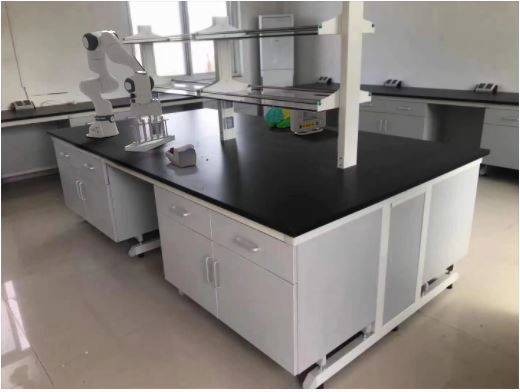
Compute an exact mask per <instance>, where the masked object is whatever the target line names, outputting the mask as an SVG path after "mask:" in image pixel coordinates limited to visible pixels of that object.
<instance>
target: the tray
mask: <svg viewBox="0 0 520 392" xmlns="http://www.w3.org/2000/svg"><path fill="white" fill-rule="evenodd" d="M170 135H171V137H167V138H163V139H159V140H154V141H150V142H146V143H142V144H138V145H136V144H133V143H131V144H129V145H126V146H125V145H124V151H126V152H144V153H145V152H148V151H150V150H153V149H155V148H157V147H160V146H161V145H164V144H166V143H168V142H171V141H173V140H175V139H176V134H170ZM159 136H163V134H160V133H159ZM154 137H157V135H156V134H153V138H154ZM150 138H151V137H150V136H149V137H148V136H147V139H150ZM142 140H145V139H144V138H143V139H142Z"/></svg>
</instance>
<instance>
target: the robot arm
mask: <svg viewBox="0 0 520 392" xmlns="http://www.w3.org/2000/svg"><path fill="white" fill-rule="evenodd" d="M82 45H83V46H84V48H85V49H86V55H87V56H86V57H87V64H88V65H87V66H88V69H89V70H90V71H91V72H92V73H94V74H97V75H98V76H97V77H88V78H85V79H82V80H80V82H79V91H80V92H81V93H82V94H83V95H85V97H87V98H88V99H90V101H91V102H92V104H93V106H94V110H95V114H96V115H95V116H94V115H93V118H94V119H95V120H94V121H93V122H92V124H91V125H90V126H89V128H88V130H89V131H88V132H89V133H86V137H91V138H100V139H101V138H105V137H111V136H116V135H119V134H120V132H119V131H118V127H117V124H116V121H115V119H116V118H115V113H114V111H113V105H112V102H111V101H110V100H108V99H107V98H103V97H102V95H104V94H112V93H115V92H118V91H119V88H120V82H119V80H118V79H117V77H115V76H114V75H113V74H111V72H110V71H109V70H108V65H107V61H106V60H107V59H106V57H108V59H109V60H110V61H111V62H112V63H114V64H117V65H123V66H126V67H129V68H130V69H132V71H133V74H132V75H130V76H129V77H126V78H125V80H124V83H123V86H124V89H125V91H126V92H127V93H129V94H136V96H135V97H133V98H131V99H130V100H129V102H130V114H131V115H132V116H136V117H137V119H138V120H139V121H138V122H139V124H140V123H142V120H144V119H143V118H142V116H153V119H152V121H153V123H152V124H155V123H156V119H157V120H158V116H161V115H162V114H163V107H162V105H161V100H159V99H153V94H152V90H153V89H154V87H155V81H154V78H153V77H152V76H151V75H150V74H149V73H148V72H147V71H146V70H145V68H144V66H142V65H141V63H140V61H138V59H137V58H136V57H135V56H134V55H133V54H132V53H130V52H129V51H128V50H127V49H126V48H125V47H124V45H123V43H122V42H121V41H120V38H119V35H118V34H117V32H116V31H114V30H109V29H107V30H98V31H93V32H86V33H84V34H83V36H82ZM162 116H163V115H162Z"/></svg>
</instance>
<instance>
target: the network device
mask: <svg viewBox="0 0 520 392" xmlns="http://www.w3.org/2000/svg"><path fill="white" fill-rule="evenodd" d="M290 123H291V126H290V131H292V132H294V134H295V135H300V136H301V135H308V134H314V133H318V132H322V131H324V129H323V128H325V127H326V126H327V125H326V124H327V110H326V111H324V112H319V113H312V112H304V111H296V110H290Z"/></svg>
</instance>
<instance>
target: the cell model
mask: <svg viewBox="0 0 520 392" xmlns="http://www.w3.org/2000/svg"><path fill="white" fill-rule="evenodd" d="M164 153H165V157H166V158H167V159H168V161H169V162H170V163H171V164H172V165H175V166H177V167H179V168H185V167H191V166H196V165H197V152H196V149H195V145H194V144H192V143H189V144H185V145H183V146H180V147H174V146H172V147H170V148H169V149H168V150H166V151H165V152H164Z"/></svg>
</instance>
